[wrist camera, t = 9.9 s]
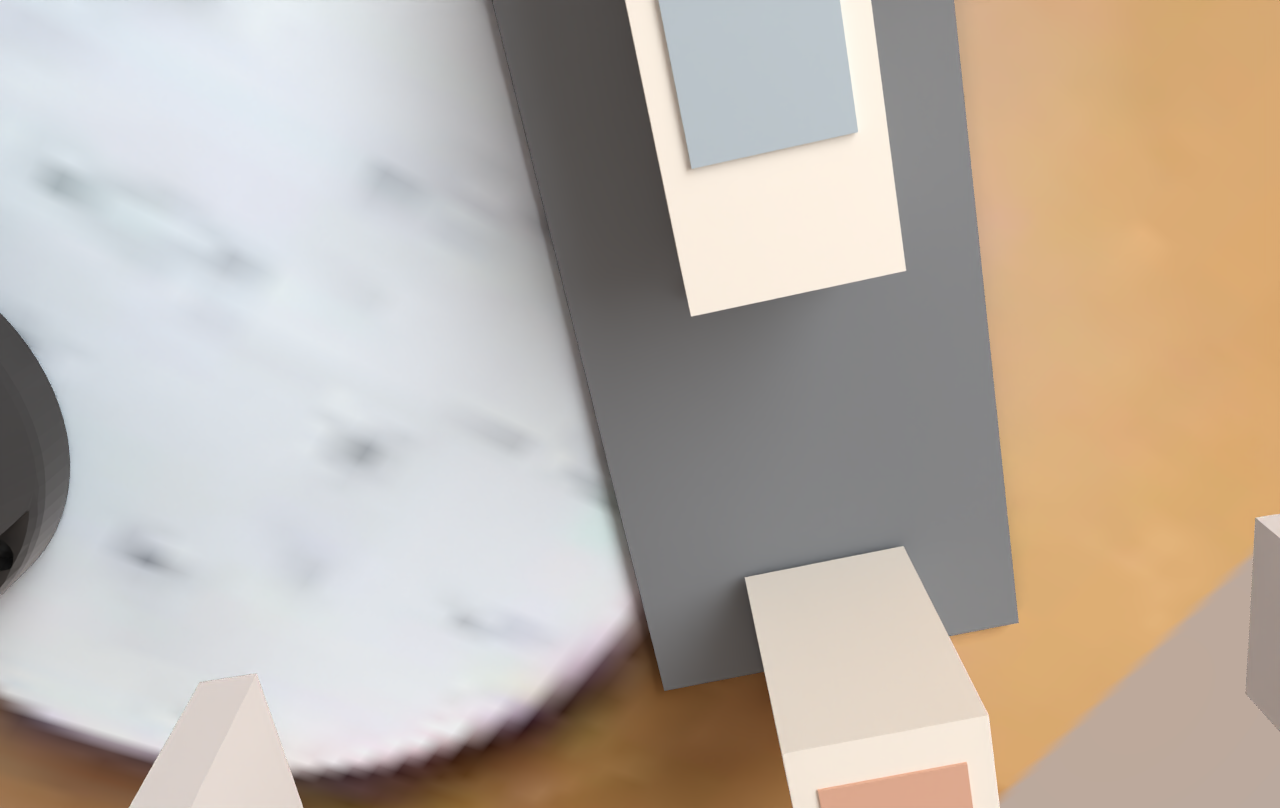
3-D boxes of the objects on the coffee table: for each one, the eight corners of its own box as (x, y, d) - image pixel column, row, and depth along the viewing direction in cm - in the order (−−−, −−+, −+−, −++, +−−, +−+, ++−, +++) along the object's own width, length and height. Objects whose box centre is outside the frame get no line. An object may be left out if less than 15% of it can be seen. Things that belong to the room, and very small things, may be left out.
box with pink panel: (775, 727, 43) (819, 934, 34) (744, 577, 41) (782, 756, 32) (925, 699, 43) (1011, 900, 34) (903, 546, 41) (989, 717, 31)
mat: (663, 681, 44) (664, 691, 43) (469, -98, 33) (467, -100, 33) (1013, 614, 43) (1018, 622, 42) (926, -207, 32) (932, -211, 32)
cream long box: (685, 294, 37) (700, 364, 30) (565, -284, 31) (551, -356, 24) (859, 257, 37) (914, 319, 30) (774, -336, 31) (817, -423, 24)
